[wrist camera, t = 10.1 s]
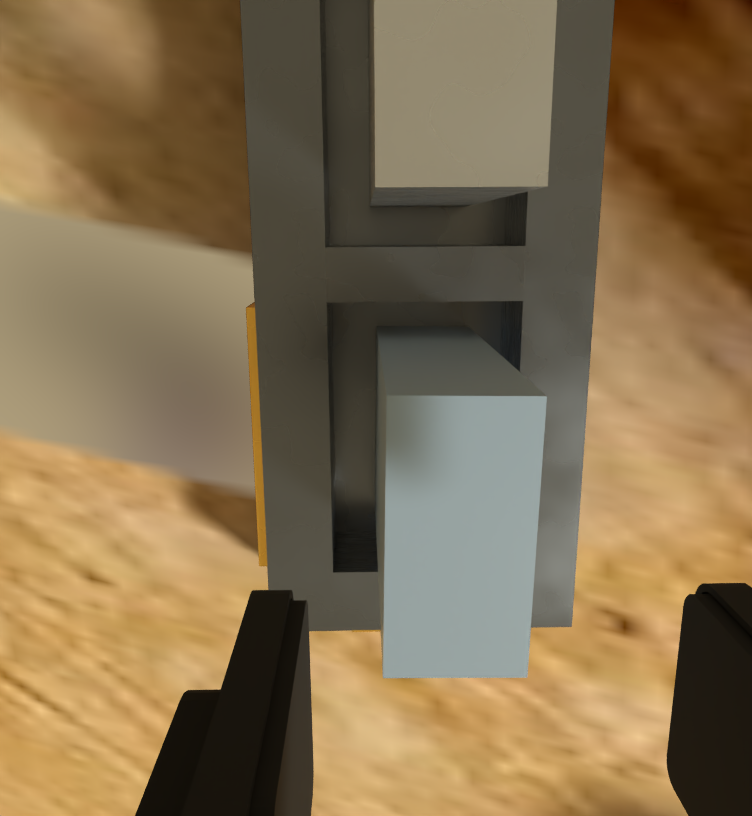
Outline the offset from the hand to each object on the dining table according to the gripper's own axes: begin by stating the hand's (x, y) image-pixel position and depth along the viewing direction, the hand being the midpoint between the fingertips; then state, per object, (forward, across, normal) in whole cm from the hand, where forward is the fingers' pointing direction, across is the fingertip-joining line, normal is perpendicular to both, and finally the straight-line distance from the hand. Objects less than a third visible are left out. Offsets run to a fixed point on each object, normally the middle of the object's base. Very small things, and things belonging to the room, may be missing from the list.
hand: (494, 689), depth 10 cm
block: (+14, 0, 0) cm, 14 cm away
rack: (+15, 0, -5) cm, 16 cm away
